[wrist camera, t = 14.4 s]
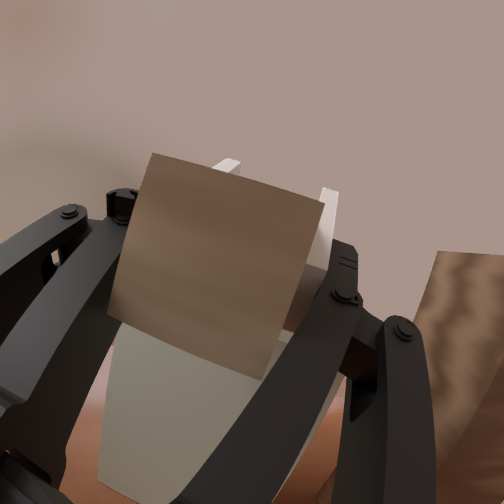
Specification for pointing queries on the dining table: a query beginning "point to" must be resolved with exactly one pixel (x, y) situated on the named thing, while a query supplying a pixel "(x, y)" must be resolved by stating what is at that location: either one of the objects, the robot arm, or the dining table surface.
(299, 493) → the dining table surface
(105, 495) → the dining table surface
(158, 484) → the cream upright block
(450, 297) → the wooden block
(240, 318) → the brown square block
